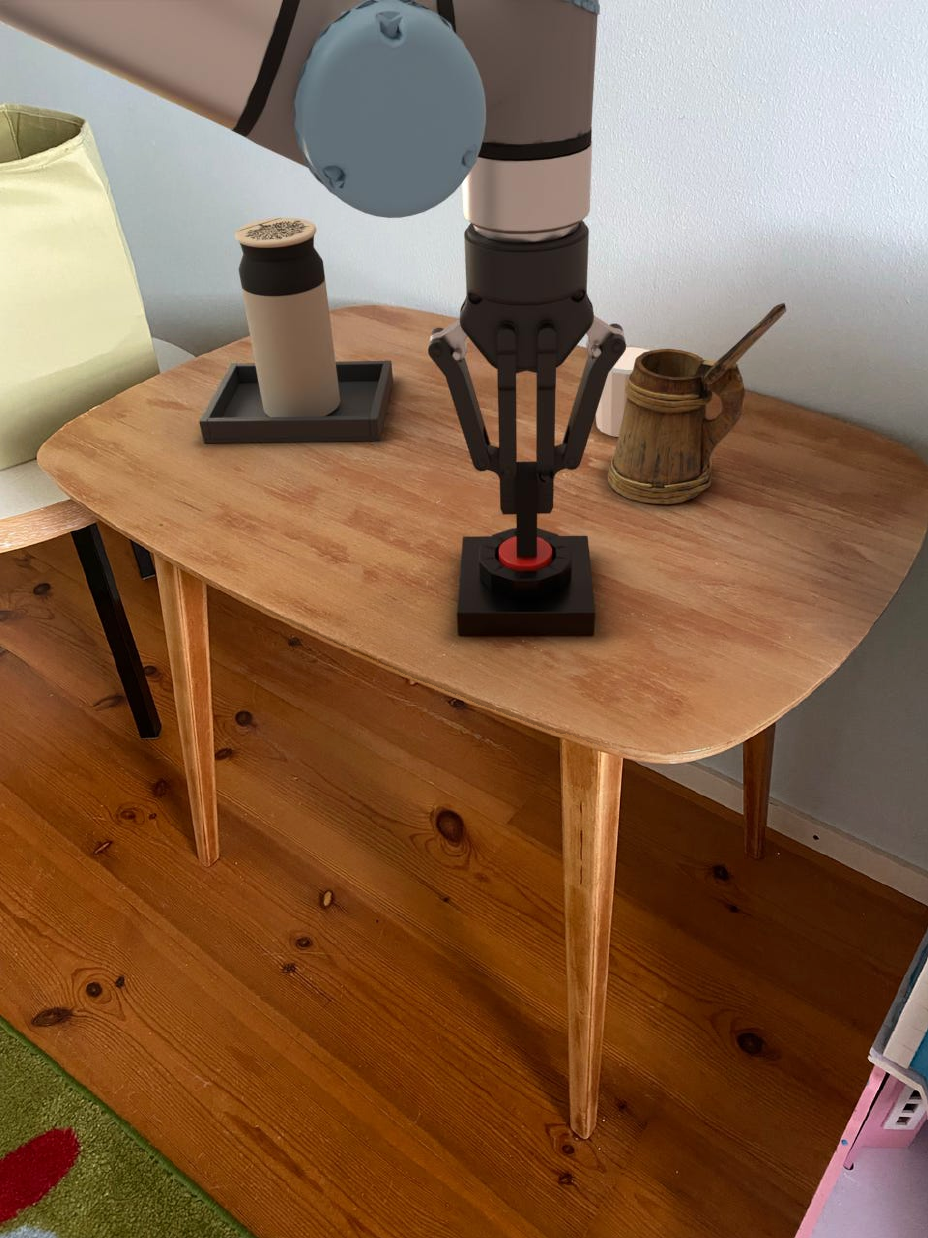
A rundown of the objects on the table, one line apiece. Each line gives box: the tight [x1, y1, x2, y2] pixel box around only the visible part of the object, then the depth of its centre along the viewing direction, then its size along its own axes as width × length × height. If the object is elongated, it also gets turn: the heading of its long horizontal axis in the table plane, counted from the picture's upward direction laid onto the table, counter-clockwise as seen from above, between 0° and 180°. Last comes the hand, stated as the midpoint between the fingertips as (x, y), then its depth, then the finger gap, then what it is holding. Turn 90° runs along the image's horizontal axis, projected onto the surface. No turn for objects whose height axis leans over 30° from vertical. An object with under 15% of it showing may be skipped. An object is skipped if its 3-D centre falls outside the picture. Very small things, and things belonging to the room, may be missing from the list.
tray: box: [198, 360, 394, 444], centre depth 102 cm, size 18×14×2 cm
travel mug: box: [234, 217, 340, 417], centre depth 97 cm, size 8×8×18 cm
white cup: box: [595, 343, 657, 438], centre depth 96 cm, size 7×7×7 cm
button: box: [499, 537, 552, 571], centre depth 74 cm, size 4×4×2 cm
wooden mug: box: [607, 302, 787, 505], centre depth 82 cm, size 9×14×18 cm, turn 54°
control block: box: [456, 527, 596, 637], centre depth 75 cm, size 10×10×4 cm
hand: (526, 546), depth 74 cm, fingers closed
